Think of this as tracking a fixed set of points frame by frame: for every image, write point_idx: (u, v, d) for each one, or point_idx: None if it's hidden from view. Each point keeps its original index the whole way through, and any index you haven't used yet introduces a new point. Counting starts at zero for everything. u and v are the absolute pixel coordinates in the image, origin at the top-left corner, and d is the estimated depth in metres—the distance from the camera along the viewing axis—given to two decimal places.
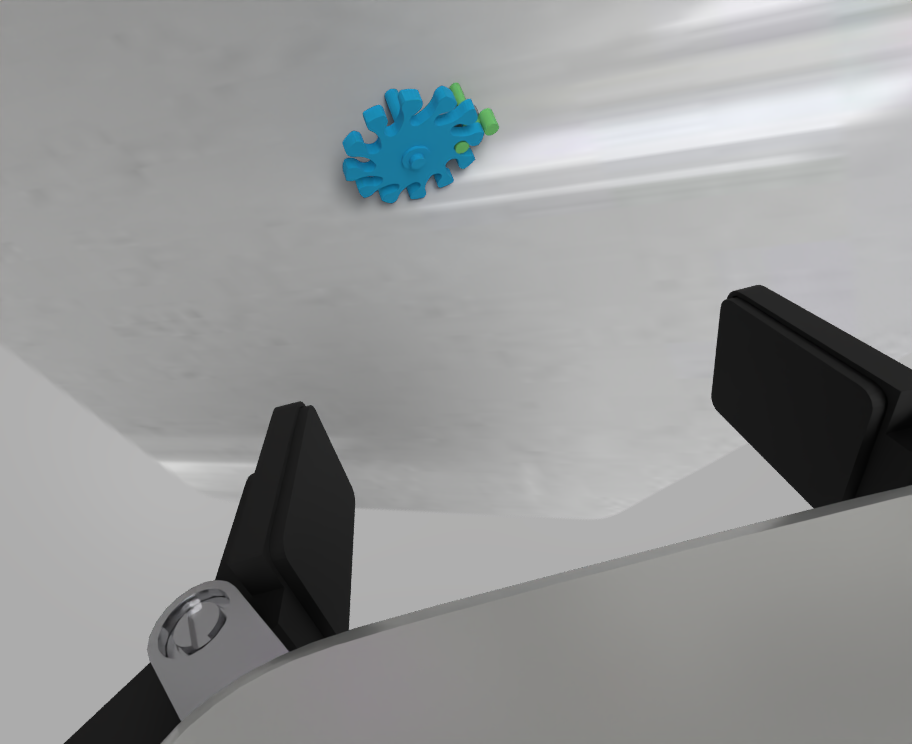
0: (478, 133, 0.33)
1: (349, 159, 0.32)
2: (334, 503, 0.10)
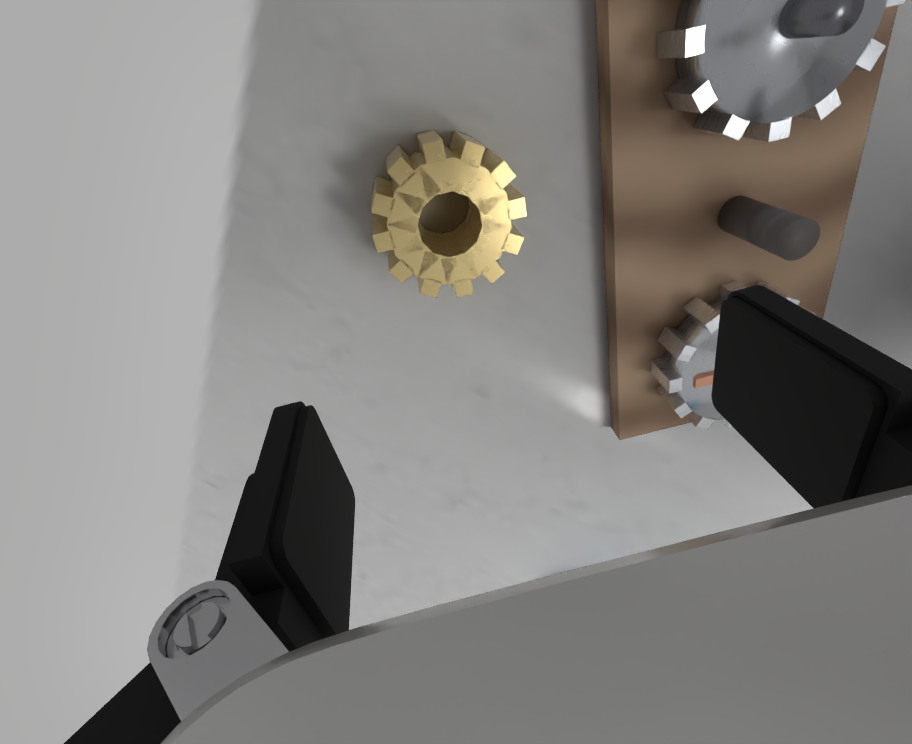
0: None
1: None
2: (334, 503, 0.10)
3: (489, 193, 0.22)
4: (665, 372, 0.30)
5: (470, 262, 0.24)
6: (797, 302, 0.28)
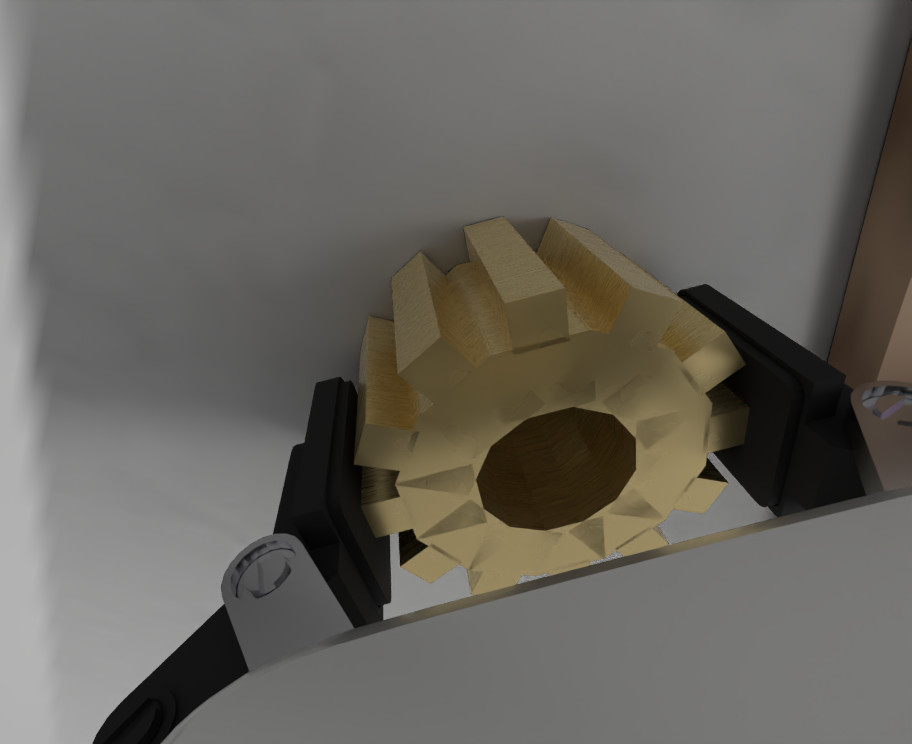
0: None
1: None
2: None
3: (668, 405, 0.08)
4: None
5: (594, 535, 0.10)
6: None
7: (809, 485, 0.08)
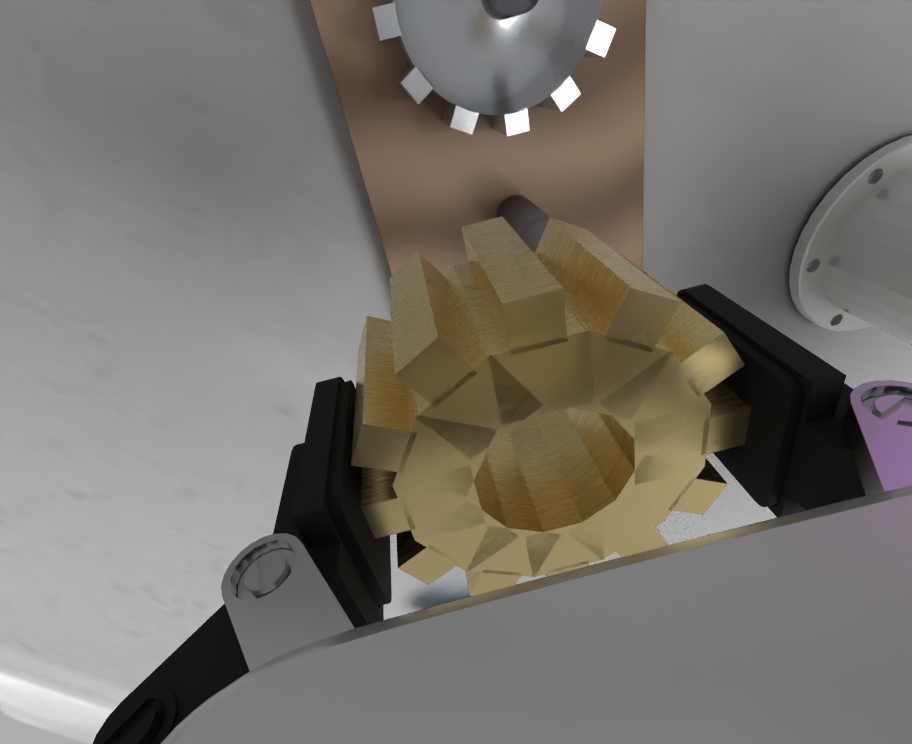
0: None
1: None
2: None
3: (667, 405, 0.08)
4: None
5: (593, 536, 0.10)
6: None
7: (809, 485, 0.08)
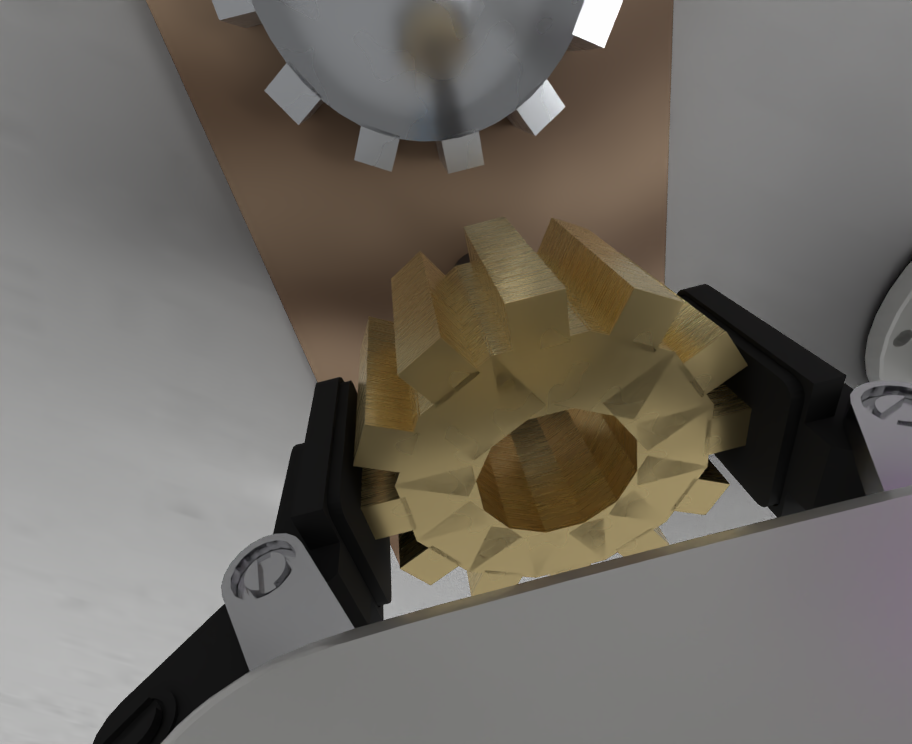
0: None
1: None
2: None
3: (670, 406, 0.08)
4: None
5: (595, 536, 0.10)
6: None
7: (809, 485, 0.08)
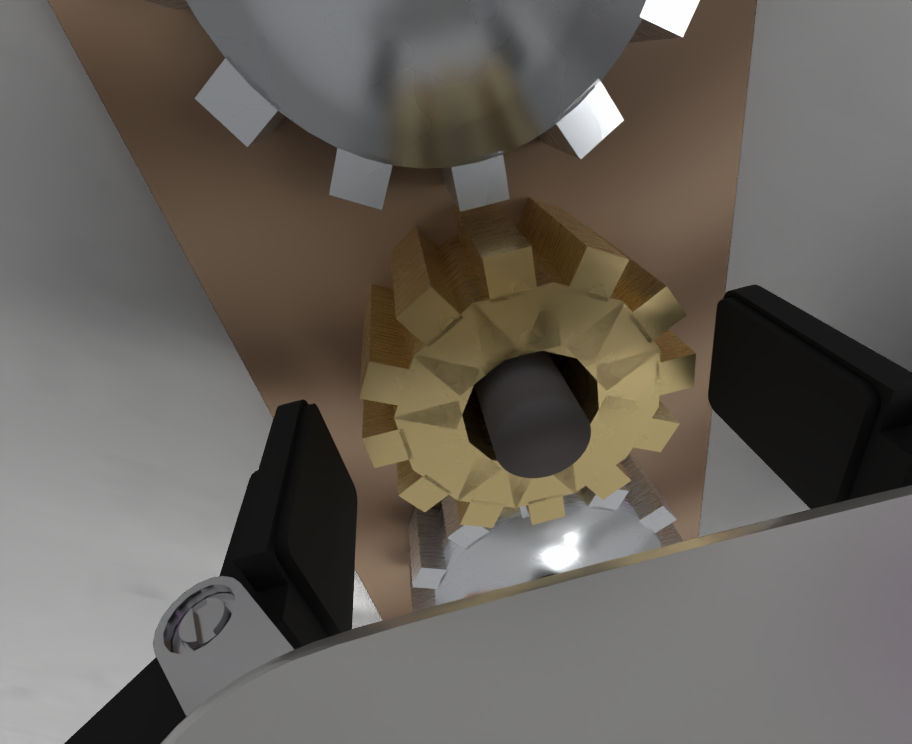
0: None
1: None
2: (337, 500, 0.10)
3: (623, 350, 0.10)
4: (415, 590, 0.17)
5: (565, 470, 0.12)
6: (623, 493, 0.15)
7: None
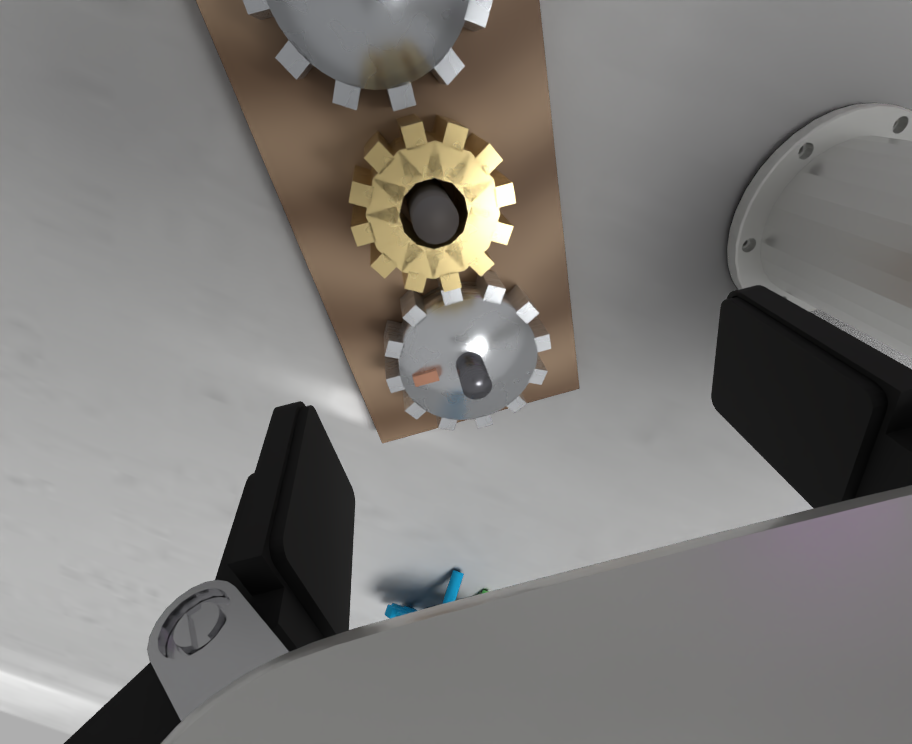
0: None
1: None
2: (334, 503, 0.10)
3: (474, 179, 0.21)
4: (388, 370, 0.28)
5: (457, 254, 0.23)
6: (503, 290, 0.25)
7: None
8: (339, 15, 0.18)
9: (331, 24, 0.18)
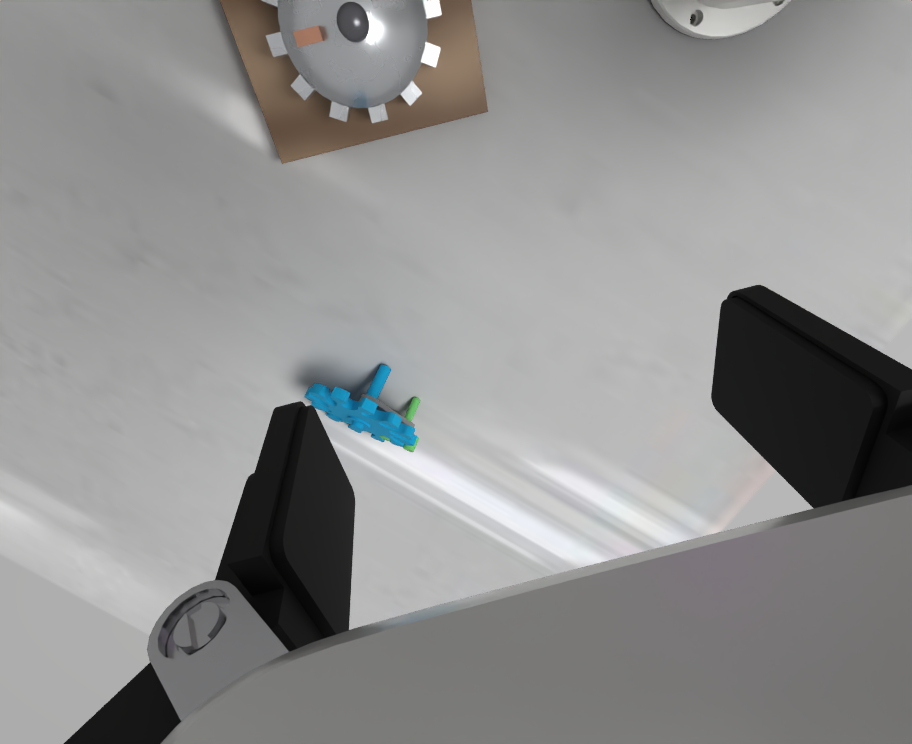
0: (400, 445, 0.43)
1: (326, 388, 0.38)
2: (334, 503, 0.10)
3: None
4: None
5: None
6: None
7: None
8: None
9: None
